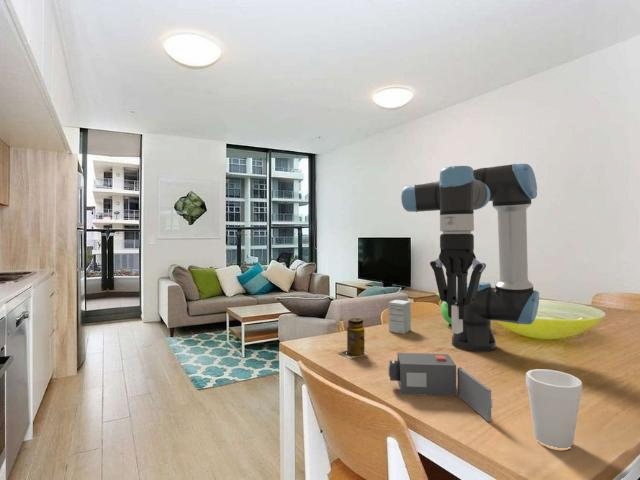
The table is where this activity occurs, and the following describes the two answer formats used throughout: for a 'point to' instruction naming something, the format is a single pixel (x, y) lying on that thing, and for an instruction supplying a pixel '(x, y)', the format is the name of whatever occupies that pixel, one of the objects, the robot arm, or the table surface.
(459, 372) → the side door
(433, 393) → the camera box
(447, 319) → the toy bird
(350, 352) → the condiment
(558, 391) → the foam cup
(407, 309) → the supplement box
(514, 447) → the table surface
